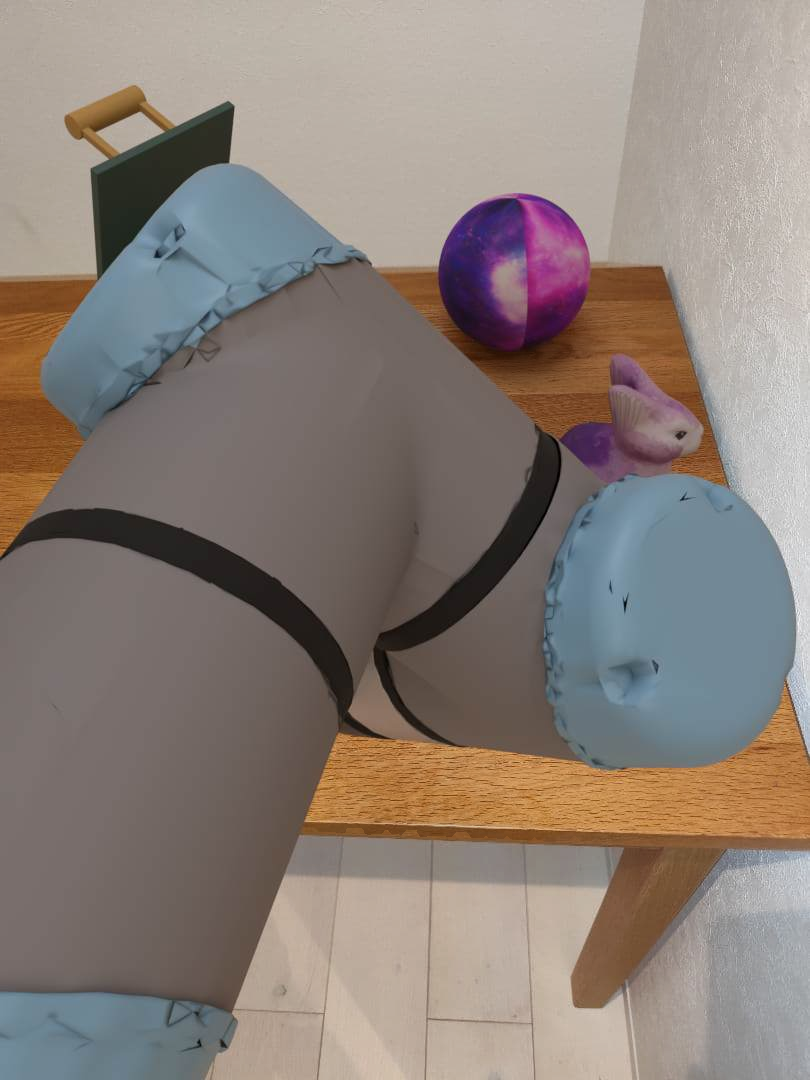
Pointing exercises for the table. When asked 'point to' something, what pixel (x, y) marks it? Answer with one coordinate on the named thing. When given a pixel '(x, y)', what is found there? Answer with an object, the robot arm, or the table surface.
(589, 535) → the robot arm
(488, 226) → the decorative orb
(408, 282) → the table surface
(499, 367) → the table surface
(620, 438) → the figurine
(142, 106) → the lid
